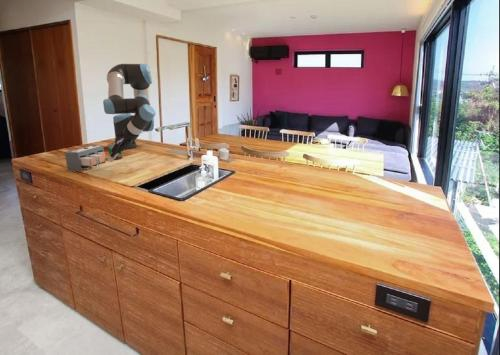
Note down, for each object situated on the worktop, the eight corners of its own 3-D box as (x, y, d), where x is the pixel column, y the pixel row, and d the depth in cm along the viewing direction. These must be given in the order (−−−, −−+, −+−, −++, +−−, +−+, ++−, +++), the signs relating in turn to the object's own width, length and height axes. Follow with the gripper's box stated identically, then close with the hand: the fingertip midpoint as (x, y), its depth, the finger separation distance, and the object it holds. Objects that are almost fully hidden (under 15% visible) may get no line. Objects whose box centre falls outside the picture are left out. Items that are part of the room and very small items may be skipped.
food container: (119, 161, 195) (117, 144, 192) (109, 161, 196) (107, 144, 193) (127, 156, 207) (125, 140, 204) (117, 156, 207) (115, 140, 204)
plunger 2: (105, 158, 189) (104, 152, 188) (101, 159, 185) (100, 153, 184) (94, 157, 191) (93, 151, 190) (90, 158, 187) (89, 152, 186)
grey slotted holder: (105, 162, 191) (103, 145, 188) (80, 171, 174) (77, 152, 171) (93, 161, 193) (90, 144, 190) (67, 170, 176) (64, 151, 173)
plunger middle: (104, 161, 181) (103, 155, 180) (99, 162, 178) (99, 156, 177) (93, 160, 183) (92, 154, 182) (88, 162, 180) (87, 155, 179)
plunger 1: (96, 164, 175) (95, 157, 174) (91, 165, 172) (90, 159, 171) (84, 163, 177) (83, 156, 176) (79, 165, 174) (78, 158, 173)
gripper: (130, 137, 162) (106, 168, 171) (145, 133, 174) (122, 162, 183) (120, 126, 162) (96, 157, 171) (135, 123, 174) (113, 152, 183)
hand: (109, 160), depth 177 cm, fingers closed
